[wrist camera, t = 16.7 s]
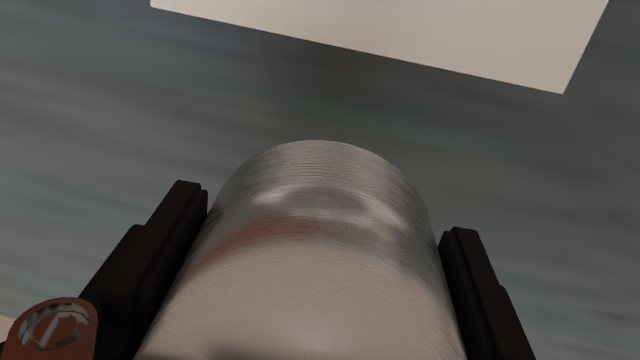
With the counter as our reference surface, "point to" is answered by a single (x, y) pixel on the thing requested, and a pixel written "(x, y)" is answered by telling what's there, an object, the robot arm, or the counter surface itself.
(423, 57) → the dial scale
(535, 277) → the counter surface
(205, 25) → the counter surface
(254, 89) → the counter surface
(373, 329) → the cylinder
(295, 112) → the counter surface
